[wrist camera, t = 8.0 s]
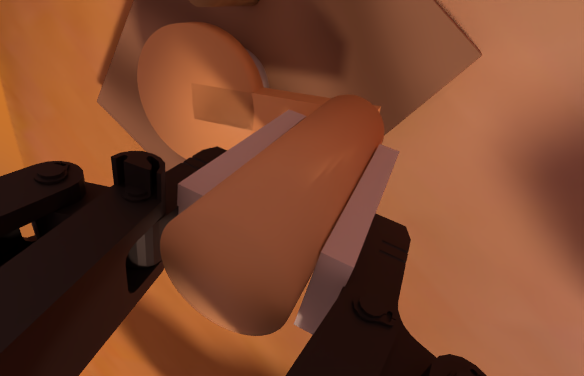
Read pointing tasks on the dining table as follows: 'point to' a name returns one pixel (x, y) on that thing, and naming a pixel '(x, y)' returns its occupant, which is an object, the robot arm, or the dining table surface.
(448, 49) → the board
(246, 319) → the tan piece
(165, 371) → the dining table surface
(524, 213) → the dining table surface
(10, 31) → the dining table surface
